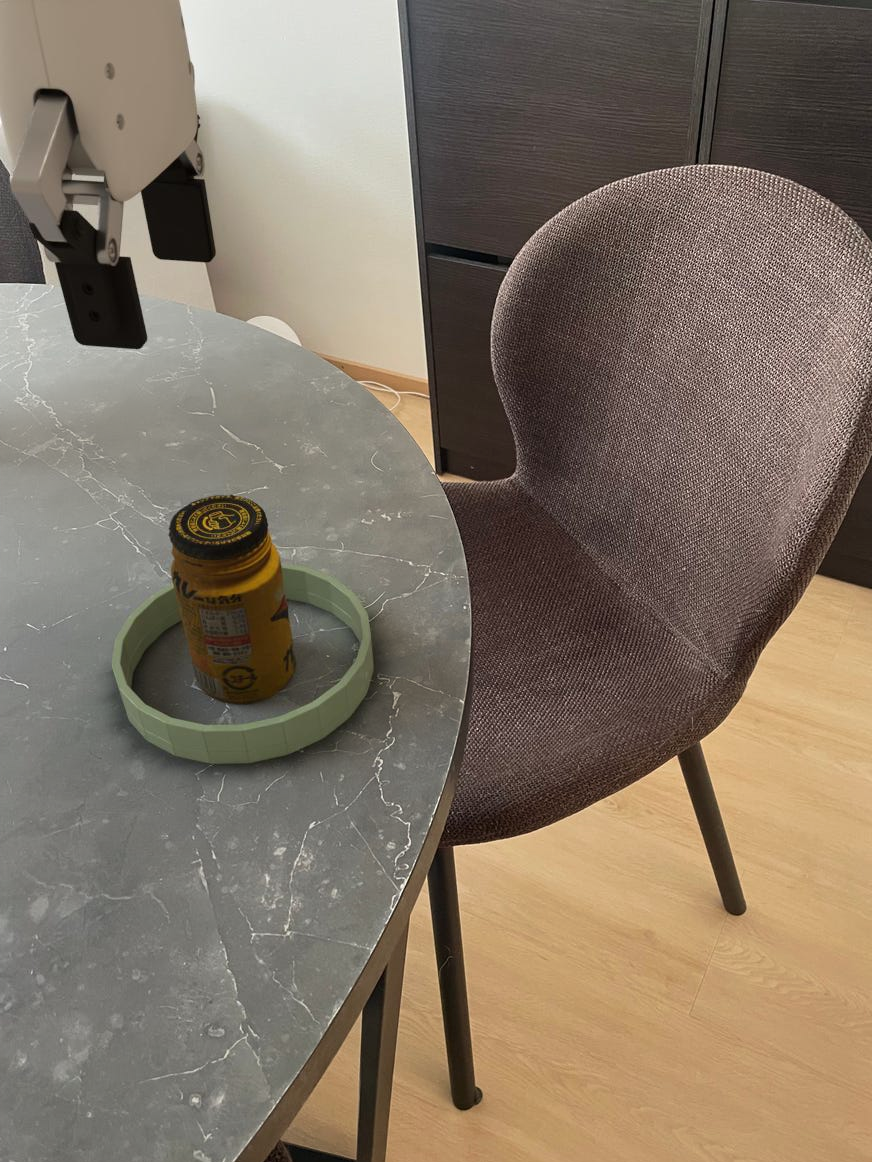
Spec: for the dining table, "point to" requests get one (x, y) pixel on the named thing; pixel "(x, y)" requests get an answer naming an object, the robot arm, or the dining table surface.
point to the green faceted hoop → (261, 735)
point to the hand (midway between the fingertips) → (151, 298)
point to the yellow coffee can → (231, 599)
